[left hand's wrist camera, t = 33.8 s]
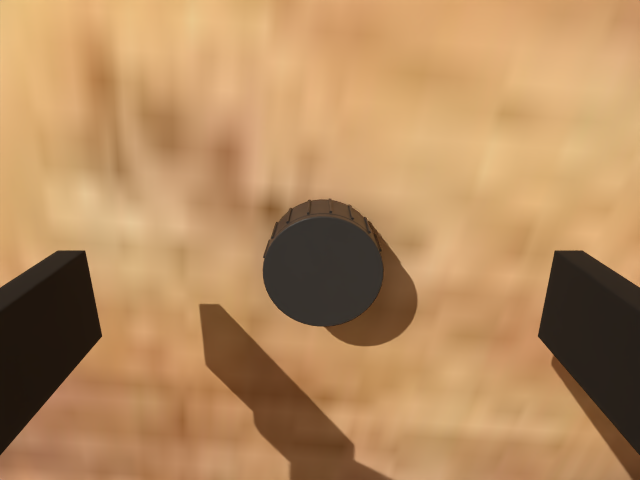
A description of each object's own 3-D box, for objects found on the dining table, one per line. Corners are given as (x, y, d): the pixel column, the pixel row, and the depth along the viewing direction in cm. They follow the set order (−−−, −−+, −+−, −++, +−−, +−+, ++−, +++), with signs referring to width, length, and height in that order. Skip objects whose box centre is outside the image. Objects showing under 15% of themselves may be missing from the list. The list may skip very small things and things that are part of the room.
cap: (329, 174, 14) (330, 188, 13) (399, 255, 15) (410, 280, 14) (246, 244, 15) (235, 267, 13) (317, 317, 16) (316, 348, 14)
